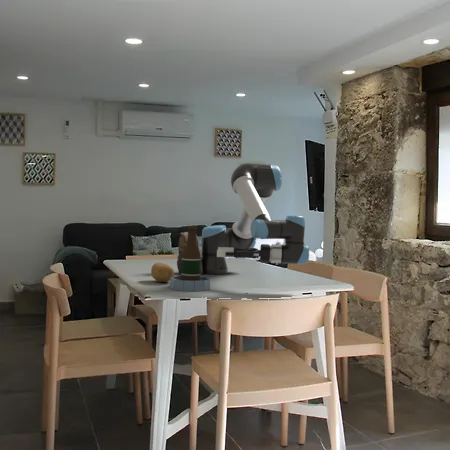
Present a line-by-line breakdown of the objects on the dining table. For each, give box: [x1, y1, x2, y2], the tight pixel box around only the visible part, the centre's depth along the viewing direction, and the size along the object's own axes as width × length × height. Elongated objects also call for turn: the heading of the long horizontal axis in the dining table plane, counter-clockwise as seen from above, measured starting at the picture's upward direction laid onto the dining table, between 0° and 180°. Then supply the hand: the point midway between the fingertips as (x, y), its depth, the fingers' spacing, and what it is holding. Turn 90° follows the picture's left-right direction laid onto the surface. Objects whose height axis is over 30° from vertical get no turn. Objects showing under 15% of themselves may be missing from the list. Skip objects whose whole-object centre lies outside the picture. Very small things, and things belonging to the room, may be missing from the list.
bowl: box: [169, 275, 211, 292], centre depth 232 cm, size 16×16×4 cm
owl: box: [176, 231, 204, 276], centre depth 279 cm, size 13×13×20 cm
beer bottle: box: [180, 225, 201, 281], centre depth 232 cm, size 8×8×24 cm
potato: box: [150, 262, 175, 283], centre depth 246 cm, size 10×14×8 cm
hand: (217, 251), depth 231 cm, fingers open, 13 cm apart
